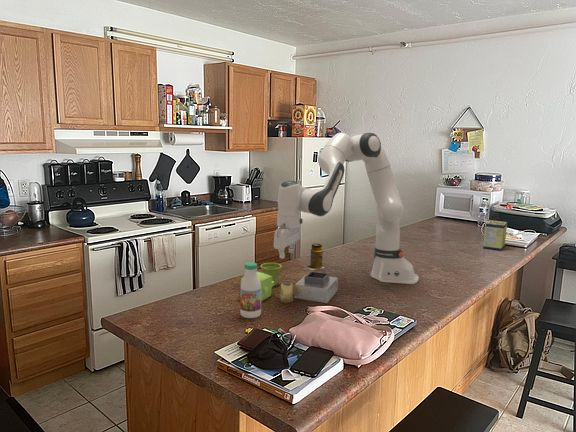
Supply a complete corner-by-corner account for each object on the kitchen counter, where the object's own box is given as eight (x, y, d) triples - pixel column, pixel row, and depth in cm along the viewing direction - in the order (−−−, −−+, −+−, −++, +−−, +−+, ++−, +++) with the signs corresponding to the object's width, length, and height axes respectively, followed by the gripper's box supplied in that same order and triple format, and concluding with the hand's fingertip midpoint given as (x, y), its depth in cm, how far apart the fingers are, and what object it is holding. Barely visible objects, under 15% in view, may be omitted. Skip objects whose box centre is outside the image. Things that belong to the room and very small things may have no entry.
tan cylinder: (294, 299, 187) (294, 282, 186) (290, 303, 183) (290, 285, 181) (283, 297, 189) (283, 280, 188) (278, 301, 184) (278, 284, 183)
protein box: (504, 246, 284) (507, 221, 281) (501, 251, 271) (504, 225, 268) (487, 243, 290) (489, 219, 287) (482, 248, 277) (485, 223, 274)
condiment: (325, 267, 231) (326, 245, 229) (312, 270, 227) (312, 247, 225) (316, 264, 237) (317, 242, 235) (303, 266, 233) (304, 244, 231)
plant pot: (284, 282, 208) (284, 264, 207) (276, 288, 200) (277, 269, 198) (265, 279, 211) (265, 261, 210) (257, 286, 203) (257, 267, 201)
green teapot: (253, 309, 178) (253, 286, 175) (233, 302, 183) (233, 280, 181) (278, 295, 193) (279, 274, 190) (259, 289, 198) (260, 268, 195)
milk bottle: (240, 310, 174) (240, 260, 171) (260, 310, 175) (261, 260, 171) (240, 319, 167) (240, 266, 163) (261, 318, 167) (261, 266, 164)
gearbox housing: (337, 290, 198) (338, 272, 197) (326, 303, 184) (327, 283, 182) (307, 286, 203) (307, 268, 202) (294, 298, 189) (295, 278, 187)
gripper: (285, 227, 171) (284, 262, 173) (304, 218, 189) (302, 250, 192) (270, 225, 173) (269, 260, 176) (290, 217, 192) (288, 248, 194)
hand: (286, 255), depth 184 cm, fingers open, 8 cm apart
